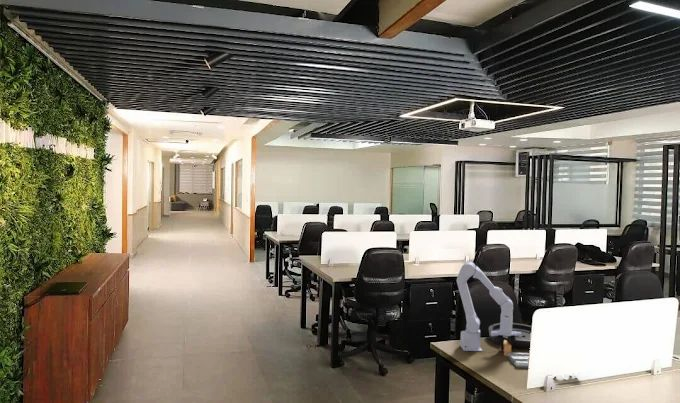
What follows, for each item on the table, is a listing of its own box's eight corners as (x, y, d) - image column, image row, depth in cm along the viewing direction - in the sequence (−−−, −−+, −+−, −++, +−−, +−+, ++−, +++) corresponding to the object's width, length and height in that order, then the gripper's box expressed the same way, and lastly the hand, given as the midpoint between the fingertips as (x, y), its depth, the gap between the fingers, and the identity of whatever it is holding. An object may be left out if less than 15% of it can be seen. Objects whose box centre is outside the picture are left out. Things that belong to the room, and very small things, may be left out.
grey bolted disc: (533, 332, 263) (481, 331, 263) (534, 322, 263) (481, 321, 263) (558, 352, 233) (499, 351, 233) (558, 340, 233) (499, 339, 233)
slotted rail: (516, 368, 212) (516, 362, 211) (507, 357, 225) (507, 352, 224) (538, 368, 211) (538, 363, 211) (527, 357, 224) (527, 352, 224)
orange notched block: (504, 355, 226) (505, 345, 226) (499, 350, 234) (500, 340, 234) (510, 356, 226) (511, 345, 226) (505, 350, 234) (506, 340, 234)
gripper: (494, 325, 225) (493, 352, 226) (524, 326, 225) (523, 353, 226) (489, 321, 233) (488, 347, 233) (518, 321, 232) (517, 348, 233)
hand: (505, 350), depth 230 cm, fingers closed on orange notched block, 3 cm apart
